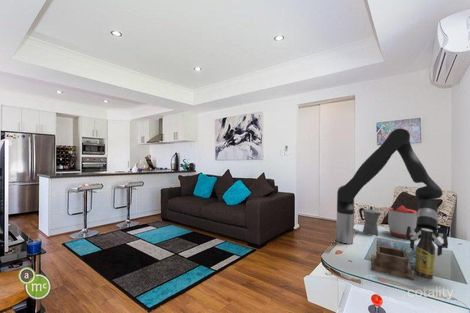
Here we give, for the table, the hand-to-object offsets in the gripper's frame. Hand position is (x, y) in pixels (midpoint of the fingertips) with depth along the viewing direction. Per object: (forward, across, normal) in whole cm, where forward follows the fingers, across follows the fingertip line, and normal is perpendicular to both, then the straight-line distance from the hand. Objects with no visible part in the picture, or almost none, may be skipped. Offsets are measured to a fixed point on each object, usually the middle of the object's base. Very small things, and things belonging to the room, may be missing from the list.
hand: (425, 251), depth 99 cm
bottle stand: (+8, -12, +6) cm, 16 cm away
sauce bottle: (+7, 0, +8) cm, 10 cm away
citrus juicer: (-34, -14, +49) cm, 62 cm away
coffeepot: (-27, -31, +41) cm, 58 cm away
